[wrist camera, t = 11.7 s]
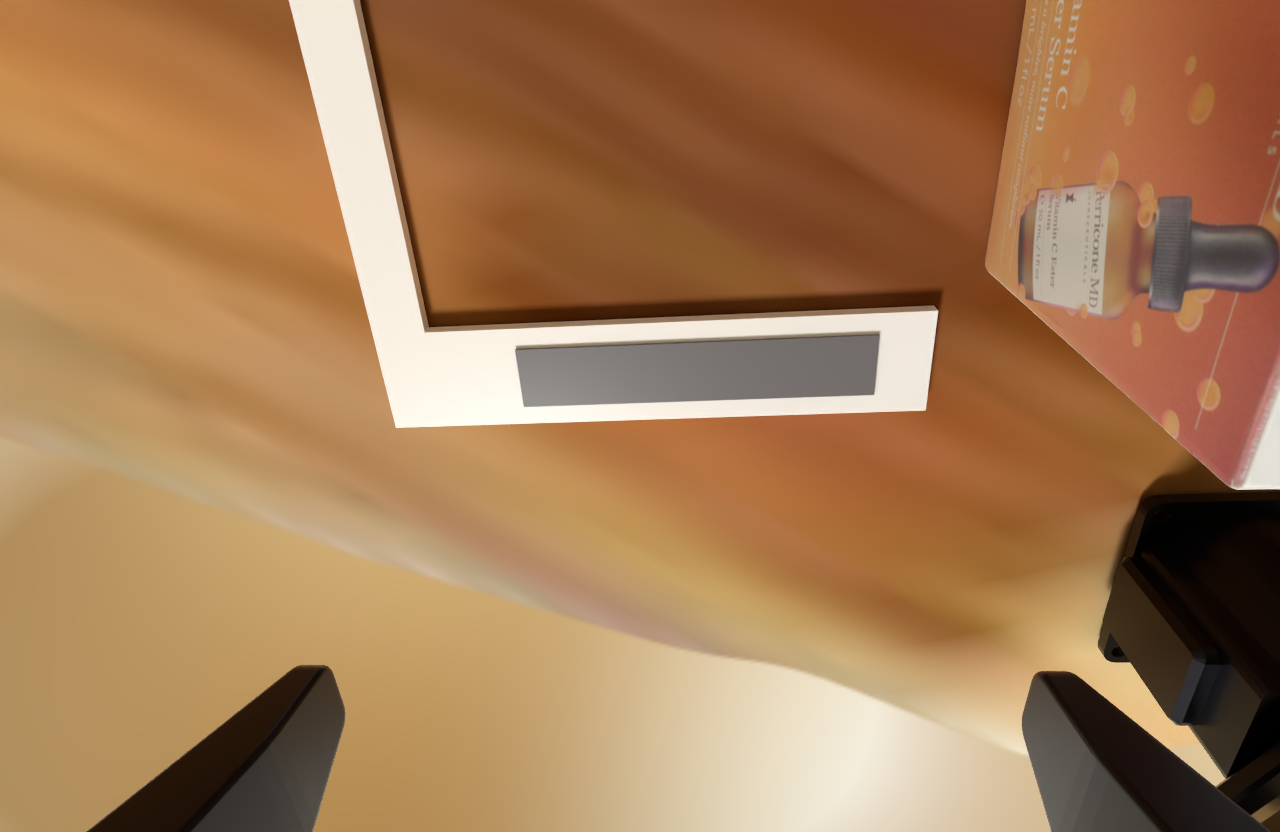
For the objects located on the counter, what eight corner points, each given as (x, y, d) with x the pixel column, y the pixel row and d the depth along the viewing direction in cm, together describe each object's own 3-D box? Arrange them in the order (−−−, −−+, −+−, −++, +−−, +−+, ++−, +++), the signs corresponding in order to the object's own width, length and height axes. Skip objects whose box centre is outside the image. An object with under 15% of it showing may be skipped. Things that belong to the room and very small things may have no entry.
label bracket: (1015, -347, 14) (1025, -359, 14) (921, 403, 22) (926, 412, 21) (231, -264, 15) (218, -272, 15) (400, 421, 23) (394, 429, 23)
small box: (1030, -87, 16) (1489, -211, 7) (1308, -109, 16) (2193, -275, 7) (976, 274, 20) (1227, 504, 11) (1199, 264, 20) (1660, 495, 10)
